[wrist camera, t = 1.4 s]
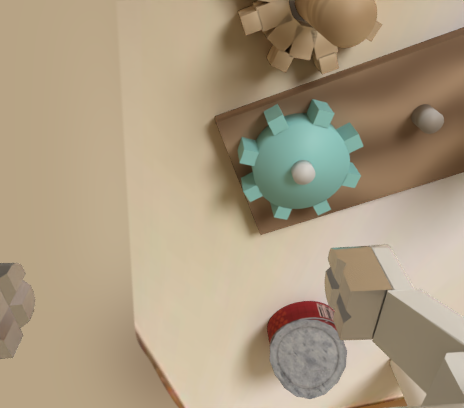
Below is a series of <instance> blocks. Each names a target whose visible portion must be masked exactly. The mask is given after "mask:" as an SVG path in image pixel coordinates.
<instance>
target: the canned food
mask: <svg viewBox="0 0 464 408" xmlns="http://www.w3.org/2000/svg"><path fill="white" fill-rule="evenodd" d="M334 312H335V311H334V310H333V309H332V308H331V307H329V306H328V305H326V304H324V303H320V302H315V301H302V302H296V303H293V304H290V305H287V306H285V307H283V308H281V309H280V310H278V311H277V312H276V313H275V314H274V315H273V316H272V317H271V318H270V320H269V322H268V326H267V330H268V336H269V342H270V362H271V365H272V368H273V371H274V374H275V376H276V377H277V378H278V379H279V381H280V382H281V383H282V385H283V386H284V388H285V389H287V390H288V391H290V392H291V393H292V394H294V395H295V396H296V397H304V398H307V399H312V398H315V397H318V396H321V395H324V394H326V393H327V392H328V391H329V390H330V389H331V388H332V387H333V386H334V385H335V384H337V383H338V381H339V379H340V377H341V375H342V373H343V371H344V369H345V367H346V355H347V350H346V347H345V344H344V341H343V340H340V339H339V335H338V332H337V329H336V326H335V323H334V320H333V317H334Z"/></svg>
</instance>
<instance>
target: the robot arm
mask: <svg viewBox="0 0 464 408" xmlns="http://www.w3.org/2000/svg"><path fill="white" fill-rule="evenodd" d="M328 261H329V264H330V268H329V269H328V270H327V271H326V274H325V292H326V298H327V301H328V304H329V306H330V307H331V308H333V309H334V310H335V312H334V317H333V320H334V323H335V326H336V329H337V332H338V335H339V339H340V340H366V339H373V342H374V343H375V344H376V345H377V346H378V347H379V348H380V349H381V350H382V351H383V352H384V353H385V354H386V355H387V356H388V357H389V358H390V359H391V360H392V361H393V362H394V363H395V364H396V365H398V366H399V367H400V368H401V369H402V370H403V371H404V372H405V373H406V374H407V375H408V376H409V377H410V378H411V379H412V380H413V381H414V382H415V383H416V384H417V385H418V386H419V387H420V388H421V389H422V390H423V391H424V392H425V393H426V396H425V398H424V401H423V403H422V405H421V406H408V407H391V408H464V317H463V316H462V315H460V314H459V313H457V312H456V311H454V310H452V309H451V308H449V307H448V306H446V305H445V304H443V303H442V302H440V301H438V300H437V299H435V298H434V297H432V296H431V295H429V294H428V293H426V292H424V291H423V290H421V289H414V287H413V285H412V283H411V282H410V280H409V278H408V276H407V275H406V273H405V271H404V270H403V268H402V266H401V264H400V263H399V261H398V259H397V257H396V256H395V254H394V252H393V251H392V249H391V247H390V246H388V245H372V246H359V247H340V248H331V249H330V251H329V256H328ZM24 276H25V271H24V269H23V267H22V265H21V264H18V263H0V359H5V358H13V357H14V354H15V352H16V350H17V348H18V345H19V343H20V341H21V339H22V337H23V334H22V331H21V329H20V328H21V327H23V326H24V325H25V324H26V323H28V322H29V321H30V319H31V316H32V314H33V312H34V305H35V297H34V291H33V289H32V287H31V285H29V284H28V283H27V282H25V281H24V280H23V278H24Z"/></svg>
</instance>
